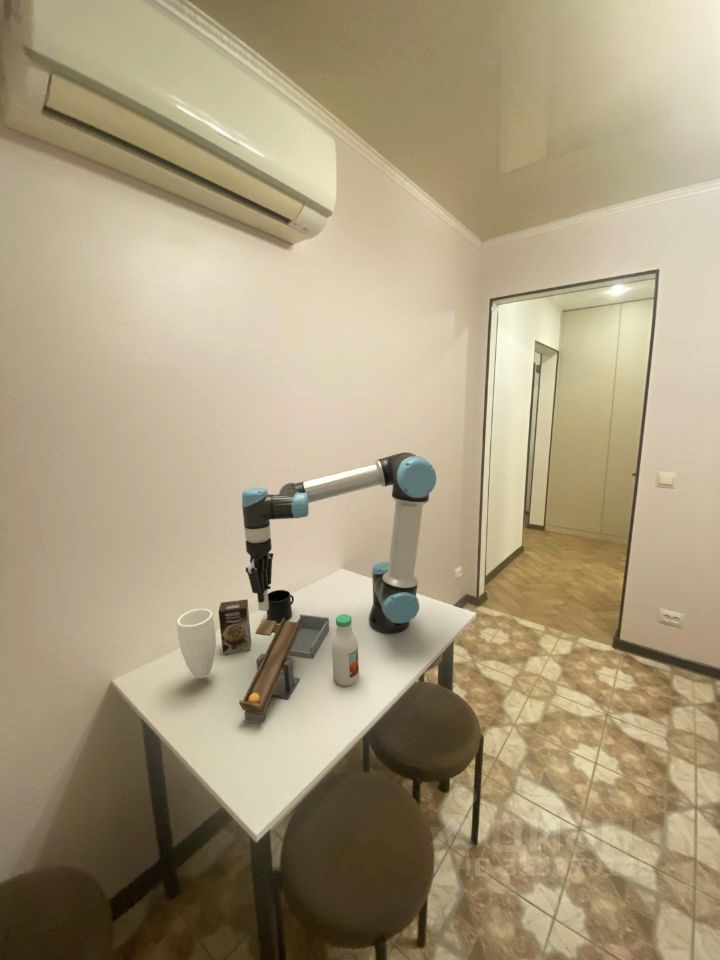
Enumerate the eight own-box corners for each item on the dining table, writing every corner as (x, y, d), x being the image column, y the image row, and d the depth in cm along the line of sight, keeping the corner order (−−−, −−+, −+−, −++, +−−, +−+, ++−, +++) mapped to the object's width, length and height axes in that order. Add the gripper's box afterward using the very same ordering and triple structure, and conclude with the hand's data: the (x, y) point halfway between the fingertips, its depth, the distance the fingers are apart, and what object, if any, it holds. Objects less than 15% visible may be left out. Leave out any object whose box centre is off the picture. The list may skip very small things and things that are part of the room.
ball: (263, 692, 103) (257, 695, 100) (261, 705, 102) (255, 708, 99) (253, 691, 104) (247, 693, 101) (251, 703, 103) (245, 706, 100)
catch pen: (329, 630, 141) (328, 617, 140) (312, 658, 126) (311, 644, 125) (301, 626, 144) (300, 614, 143) (281, 653, 129) (280, 640, 128)
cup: (185, 675, 120) (176, 612, 116) (220, 666, 124) (213, 604, 119) (183, 698, 110) (174, 630, 106) (222, 687, 114) (214, 621, 110)
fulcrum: (299, 680, 116) (297, 652, 114) (288, 699, 109) (285, 670, 107) (266, 674, 119) (264, 647, 117) (253, 693, 111) (250, 665, 110)
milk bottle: (341, 691, 111) (338, 628, 107) (329, 675, 118) (325, 616, 114) (364, 680, 115) (361, 619, 111) (350, 665, 122) (348, 608, 118)
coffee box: (222, 655, 129) (217, 611, 126) (225, 644, 135) (220, 601, 132) (250, 651, 131) (246, 607, 127) (251, 640, 137) (247, 598, 134)
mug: (301, 613, 153) (300, 592, 151) (276, 626, 145) (275, 604, 143) (287, 605, 159) (285, 585, 158) (262, 617, 151) (260, 596, 149)
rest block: (266, 717, 103) (265, 709, 102) (262, 723, 101) (261, 715, 100) (249, 714, 104) (248, 706, 103) (245, 720, 102) (244, 711, 102)
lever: (302, 626, 124) (299, 616, 121) (264, 716, 101) (260, 706, 98) (264, 621, 127) (260, 611, 125) (219, 707, 104) (213, 697, 102)
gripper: (258, 531, 125) (263, 598, 129) (235, 545, 112) (242, 619, 117) (279, 532, 123) (283, 600, 127) (258, 547, 110) (264, 622, 115)
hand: (263, 609), depth 122 cm, fingers closed
